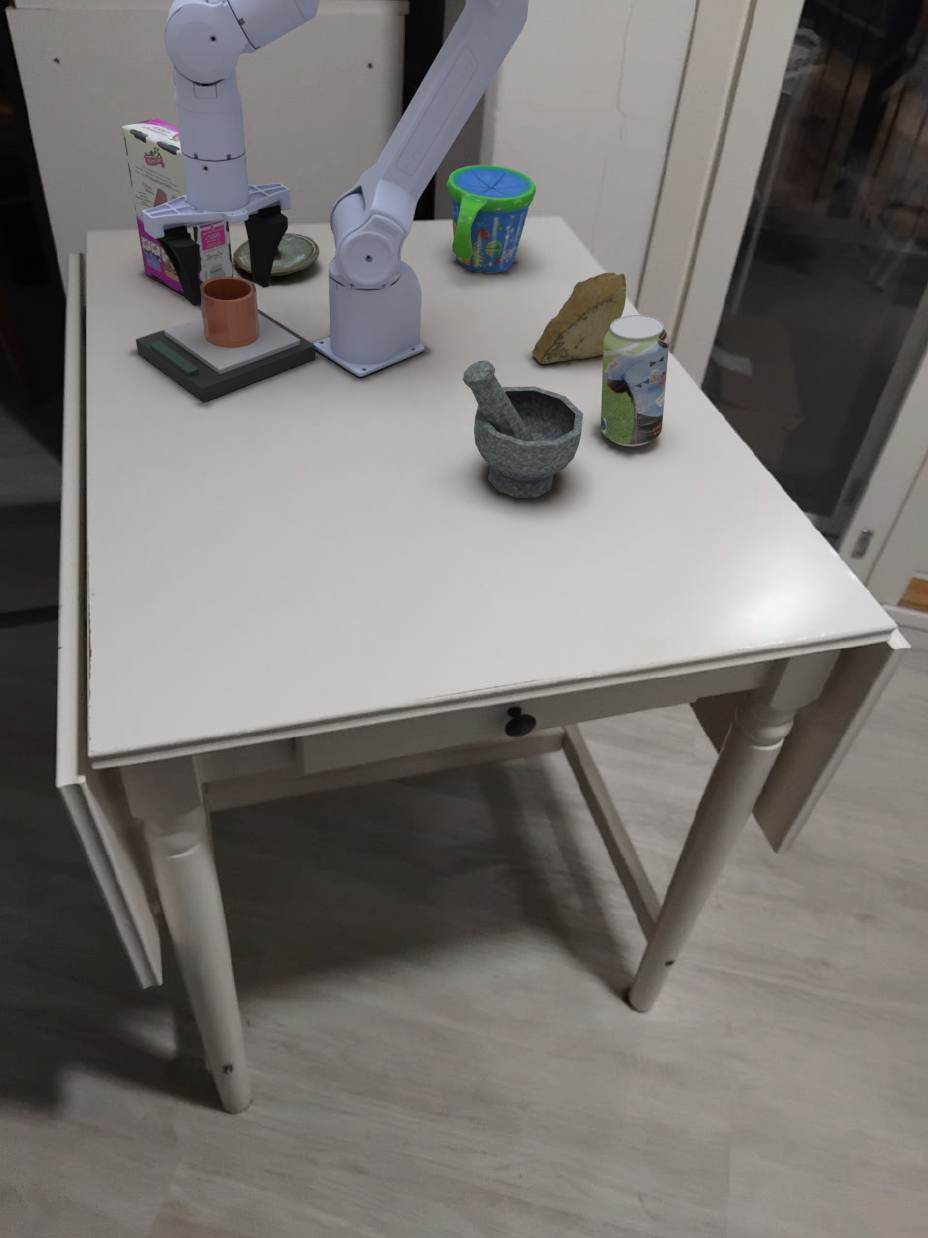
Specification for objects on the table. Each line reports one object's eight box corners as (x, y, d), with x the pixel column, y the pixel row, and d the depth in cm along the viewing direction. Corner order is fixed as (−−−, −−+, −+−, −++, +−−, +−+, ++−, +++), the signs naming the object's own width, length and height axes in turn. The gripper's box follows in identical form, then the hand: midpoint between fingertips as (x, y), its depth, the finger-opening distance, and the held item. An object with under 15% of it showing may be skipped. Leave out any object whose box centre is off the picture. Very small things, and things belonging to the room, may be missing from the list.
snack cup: (489, 296, 114) (497, 211, 107) (416, 271, 118) (420, 187, 110) (548, 254, 124) (560, 174, 117) (479, 231, 128) (486, 152, 120)
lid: (334, 281, 117) (339, 239, 114) (276, 286, 110) (280, 241, 107) (273, 257, 121) (277, 216, 119) (213, 260, 114) (216, 216, 111)
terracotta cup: (242, 316, 102) (237, 271, 98) (269, 338, 99) (266, 293, 95) (194, 329, 99) (188, 283, 95) (221, 353, 96) (216, 306, 92)
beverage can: (656, 459, 92) (686, 347, 84) (582, 445, 93) (604, 333, 85) (660, 425, 97) (688, 315, 88) (589, 412, 98) (611, 302, 89)
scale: (248, 315, 106) (247, 296, 105) (315, 358, 101) (315, 339, 99) (137, 352, 99) (134, 333, 97) (203, 402, 93) (201, 382, 92)
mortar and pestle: (559, 447, 93) (579, 334, 84) (583, 506, 86) (608, 391, 78) (446, 451, 91) (455, 336, 82) (462, 512, 84) (473, 394, 76)
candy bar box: (238, 294, 110) (224, 144, 98) (203, 308, 107) (185, 154, 95) (177, 261, 114) (158, 114, 103) (142, 273, 111) (118, 123, 100)
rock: (533, 359, 100) (629, 354, 99) (531, 274, 99) (627, 269, 98) (530, 372, 110) (616, 367, 110) (528, 296, 109) (614, 291, 109)
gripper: (159, 178, 80) (180, 326, 90) (305, 151, 87) (310, 291, 97) (122, 151, 84) (146, 296, 93) (265, 127, 91) (274, 264, 101)
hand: (227, 292), depth 95 cm, fingers open, 7 cm apart
